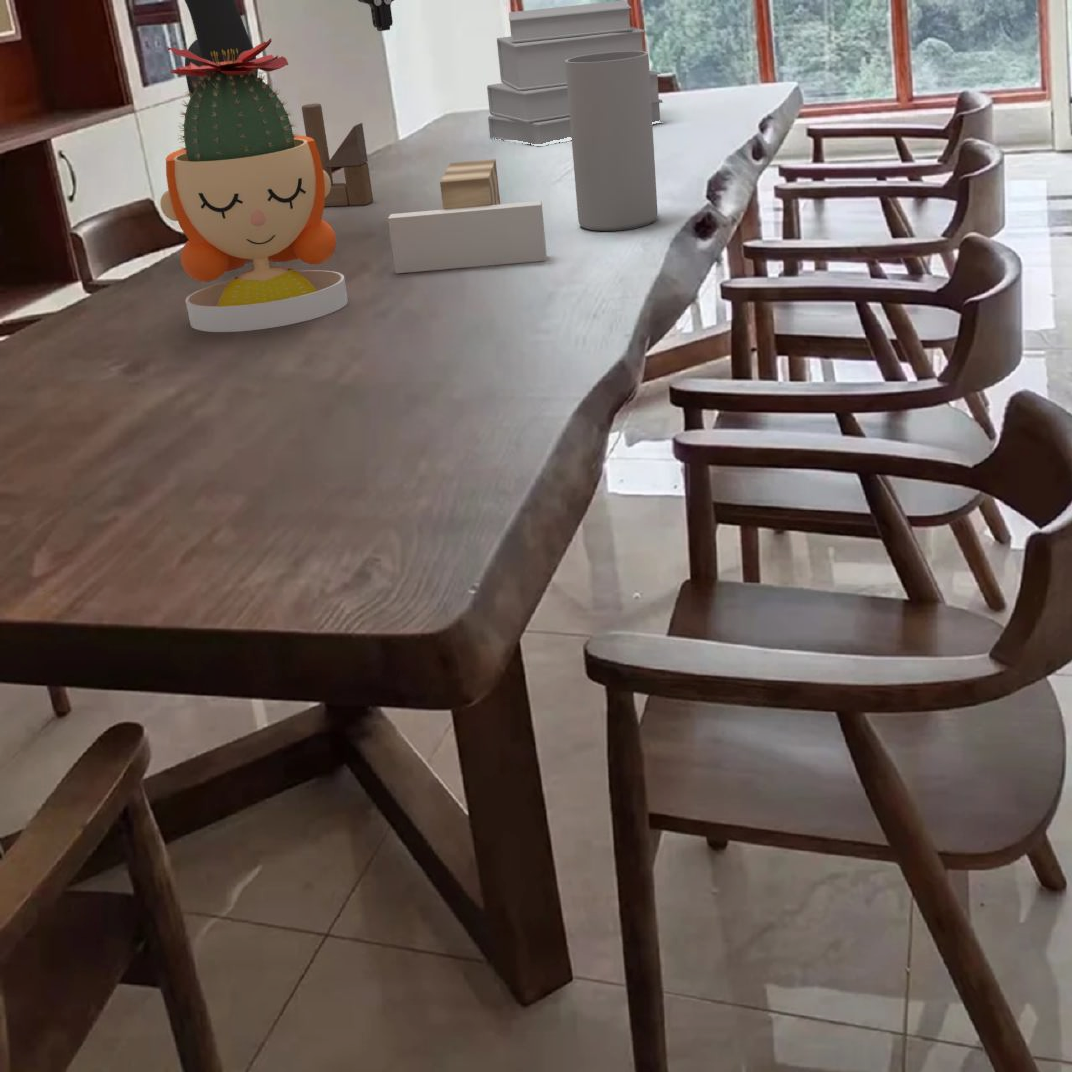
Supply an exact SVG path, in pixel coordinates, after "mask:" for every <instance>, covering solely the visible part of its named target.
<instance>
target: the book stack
mask: <svg viewBox="0 0 1072 1072" xmlns="http://www.w3.org/2000/svg"><path fill="white" fill-rule="evenodd" d="M629 9H632V6H630V4H628V2H627V1H626V0H616V1H615V0H614V1H607V2H594V3H587V4H576V5H568V6H567V5H566V6H560V7H559V6H558V7H556V6H555V7H549V8H539V9H537V8H536V9H529V10H527V9H526V10H518V11H510V12H508V21H509V28H510V29H509V30H510V36H504V37H497V38H496V44H497V45H496V46H497V55H498V66H499V73H500V83H493V84H487V86H486V89H487V91H486V92H487V98H488V99H487V100H488V109H489V114H490V115H489V116H488V117H487V122H488V131H489V138H490V139H491V138H494V139H493V140H495V138H496V139H501V140H518V141H523V142H528V143H530V144H531V143H532V144H543V143H546V142H550V141H553V140H560V139H564V138H567V137H571V126H570V114H569V102H568V90H567V77H566V65H565V60H567V59H570V58H574V57H578V56H584V55H590V54H598V53H608V52H621V51H644V49H643V35H642V33H644V32H646V31H645V29H641V28H638V27H634V26H630V11H629ZM649 75H650V92H651V109H652V122H655V121H659V120H660V121H661V111H660V104H662V103H664V102H663V99H659V97H660V96H659V81H658V77H659V76H658V75H662V73H661V72H659V71H654V70H649Z"/></svg>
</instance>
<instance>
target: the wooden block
mask: <svg viewBox="0 0 1072 1072" xmlns="http://www.w3.org/2000/svg"><path fill="white" fill-rule="evenodd" d="M301 114H302V119H303V126H304V131H305V136H307V137H310V138H312V139H313V140H315V143H316V146H317V149H318V152H319V155H320V159H321V164H322V168H323V170H324V171H325V172H326V173H327V174H328V175H329V177H330V180H331V189H330V192H329V194H328V195H327V197H325V206H324V208H325V207H345V206H346V207H347V206H350V207H356V206H357V207H358V206H367V205H369V204H370V203H373V201H374V196H373V190H372V184H371V177H370V176H371V175H370V168H369V163H368V161H369V160H368V155H367V147H366V140H365V133H364V127H363V125H364V124H363V122H360V123H358V124H355V125H354V126H353V127H352V128H351V130H350V131H349V133H348V134H347V135H346V137H344V139H343V141H342V142H341V143H340V145H339V147H337V149H336V151H335V152H334V153H333V155H332V156H331V158H330V154H329V146H328V141H327V134H326V127H325V121H324V115H323V114H324V113H323V107H322V105H321V103H318V102H317V103H307V104H304V105H302V106H301ZM339 167H343V171H344V172H343V173H344V178H345V183H344V182H338V183H337V182H336V183H334V180H333V173H332V168H339Z"/></svg>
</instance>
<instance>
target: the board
mask: <svg viewBox="0 0 1072 1072" xmlns="http://www.w3.org/2000/svg"><path fill="white" fill-rule="evenodd" d="M387 221H388V227H389V228H388V229H389V236H390V243H391V250H392V255H393V256H392V257H393V265H394V271H395V274H405V273H406V274H407V273H415V272H416V273H417V272H418V273H419V272H427V271H440V270H452V269H464V268H465V269H466V268H475V267H486V266H498V265H499V266H500V265H509V264H519V263H520V264H521V263H522V264H523V263H532V262H534V263H535V262H545V261H547V256H548V255H547V244H546V234H545V225H544V213H543V202H542V200H537V201H536V200H535V201H534V200H533V201H524V202H511V203H500V204H499V205H488V206H477V207H466V208H454V209H443V208H442V209H434V210H423V211H412V212H403V213H402V212H399V213H390V215H389V216H388V217H387Z"/></svg>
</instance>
